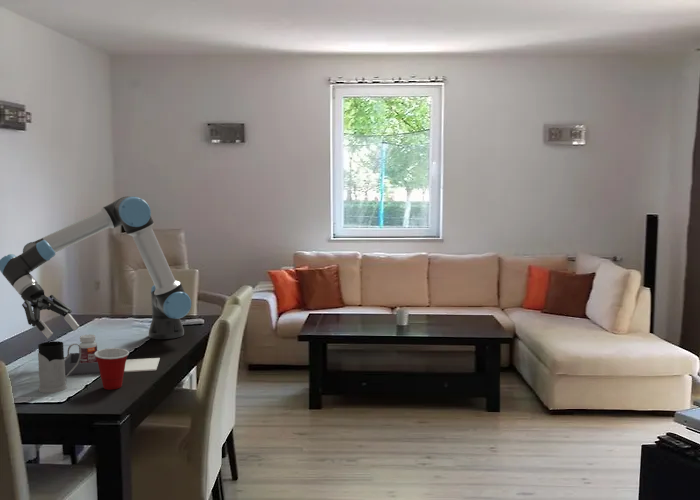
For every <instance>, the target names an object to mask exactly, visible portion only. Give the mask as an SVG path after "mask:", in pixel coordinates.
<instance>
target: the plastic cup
mask: <svg viewBox="0 0 700 500" xmlns="http://www.w3.org/2000/svg"><path fill="white" fill-rule="evenodd" d="M129 354H130V352H129V350H127V349H126V348H125V349H123V348H117V347H115V348H113V347H112V348H109V347H108V348H104V349H99V350H97V351H96V352H95V356H96V358H97V362H98V365H99V370H100V374H99V375H100V379H101V382H102V386H103V389H104V390H108V391H109V390H117V389H120V388H122V387H123V381H124V376H125V375H124V374H125V372H124V370H125V363H126V360H128V356H129Z"/></svg>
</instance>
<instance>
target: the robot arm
mask: <svg viewBox="0 0 700 500" xmlns="http://www.w3.org/2000/svg"><path fill="white" fill-rule="evenodd" d="M151 214H152V210H151V207H150V206H149V204H148V203H147V202H146V200H145V199H143V198H140V197H138V196H122V197H119V198H118V199H116V200H115V201H113V202H111V203H109V204H107V205H106V206H103V207H101V209H100V211H98V212H96V213H94V214H92V215H90V216H87V217H86V218H83V219H81V220H78V221H77V222H75V223H72V224H70V225H68V226H65V227H63V228H61V229H58V230H57V231H54V232H53V233H50V234H48V235H45V236H43V237H42V238H39V239H38V240H37V239H36V240H35V241H30V242H28V243H26V244H24V246H23V248H22V253H20V254H19V255H15V254H13V253H12V254H11V253H9V254H7V255H4V256H3V257H1V258H0V273H1V274H2V275H3V277H4V278H5V279H6V280H7V282H8V283H9V284H10V285H11V286H12V288H13V289H14V290H15V291H16V292H17V293H18V294H19V296H20V297H21V299H22V300H23V303H22V304H21V307H22V308H23V309H24V313H25V316H26V319H27V324H28V325H29V326H32V327H34V328H35V327H37V328H38V330H39V331H40V332H42V334H43V335H44V336H45V337H46V339H47V340H49V339H50V338H51V337H52V335H53V334H54V332H52V331H51V329H50V328H49V327H48V325H47V324H46V323H45V321H44V320H43V319H41V311H45V310H48V311H51V312H54V313H55V314H58V315H60V316H63V319H64V320H65V322H66V323H67V324H68V325H69V326H70V328H71V329H72V330H73V331H74V332H75V331H77V329H79V327H80V324H78V322H77V321H76V319H75V318H74V317H73V315H72V314H71V313H72V312H73V308H71V307H69V306H68V305H67V304H65V303H63V302H62V301H60V300H59V299H58V298H56V296H54V294H50V296H48V297H47V296H46V295H45V290H44V289H43V288H42V286H41V285H40V284H38V281H37V280H36V279H35V278H34V277H33V275H32V274H31V272H33V271H34V270H35V269H38V268H39V267H40V266H42V265H43V264H45V263H46V262H48V261H51V259H52V258H53V257H55V256H56V253H57V252H60V251H62V250H64V249H67V248H69V247H70V246H72V245H75V244H77V243H79V242H82V241H83V240H86V239H88V238H90V237H93V236H94V235H97V234H98V233H101V232H103V231H105V230H107V229H115V228H117V227H120V226H122V227H123V229H124V231H125V233H126V235H127V236H130V237H131V238H132V239H133V242H134V244H135V246H136V248H137V250H138V253H139V254H140V257H141V259H142V261H143V263H144V264H143V265H145V267H146V269H147V273H148V274H149V276H150V279H151V281H152V283H153V285H152V286H151V291H150V298H151V315H152V316H151V317H152V319H151V322H150V327H149V329H148V338H150V339H153V340H169V339H170V340H171V339H176V338H177V339H178V338H181V337H183V336H184V335H185V328H184V326H183V323H182V320H181V319H182V318H184V317H186V316H187V315H188V314H189V312H190V311H191V309H192V299H191V298H190V296H189V294H188V293H186V291H185V290H184V287H183V285H182V283H181V281H179V280H176V278H175V276H174V274H173V272H172V269H171V268H170V265H169V263H168V261H167V258H166V256H165V254H164V252H163V249H162V247H161V244H160V242H159V241H158V238H157V236H156V234H155V231H154V230H153V227H154V224H155V222H154V219H153V217H152V215H151ZM40 319H41V320H40Z"/></svg>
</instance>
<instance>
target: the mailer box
mask: <svg viewBox="0 0 700 500" xmlns="http://www.w3.org/2000/svg"><path fill="white" fill-rule="evenodd" d="M78 359H79V352H74V353H73V352H71V353H70V352H69V357H68V358H65V376H66V375H67V374H68V373H69V372H70V371H71V370H72V369H73V367H74V366H75V365H76V363H77V361H78ZM160 359H161V358H160V357H151V358H150V357H149V358H131V359H126V363H125V370H124V373H134V372H151V371H157V369H158V367H159V362H160ZM97 374H99V375H100V370H99V365H98V362H91V363H80V361H79V363H78V365H77V366H76V367H75V369H74V370H73V371H72V372H71V373H70V374H69V375H68V376H79V375H97Z"/></svg>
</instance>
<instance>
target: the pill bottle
mask: <svg viewBox="0 0 700 500" xmlns="http://www.w3.org/2000/svg"><path fill="white" fill-rule="evenodd" d="M79 341H80V343H79V344H78V345H80V347H81V358H80V363H91V362H97V358H96V356H95V352H96V351H98V344H97V342H96V336H95V334H83V335H81V336H80V337H79ZM78 350H79V351H78V353H79V355H80V349H79V348H78Z"/></svg>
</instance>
